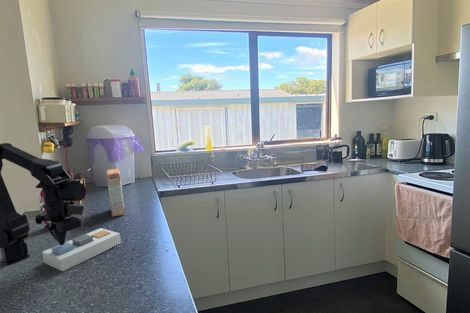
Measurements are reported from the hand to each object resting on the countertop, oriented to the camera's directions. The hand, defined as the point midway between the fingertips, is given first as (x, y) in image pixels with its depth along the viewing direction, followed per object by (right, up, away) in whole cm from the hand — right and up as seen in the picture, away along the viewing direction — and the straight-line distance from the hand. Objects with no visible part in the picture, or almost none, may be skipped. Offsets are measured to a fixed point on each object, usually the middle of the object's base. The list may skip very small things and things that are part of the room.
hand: (62, 244), depth 101 cm
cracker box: (0, +2, +49) cm, 49 cm away
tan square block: (+8, -2, +12) cm, 15 cm away
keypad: (+4, -5, +7) cm, 9 cm away
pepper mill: (-23, -2, +33) cm, 40 cm away
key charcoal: (+4, -2, +6) cm, 8 cm away
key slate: (0, -3, +1) cm, 4 cm away
